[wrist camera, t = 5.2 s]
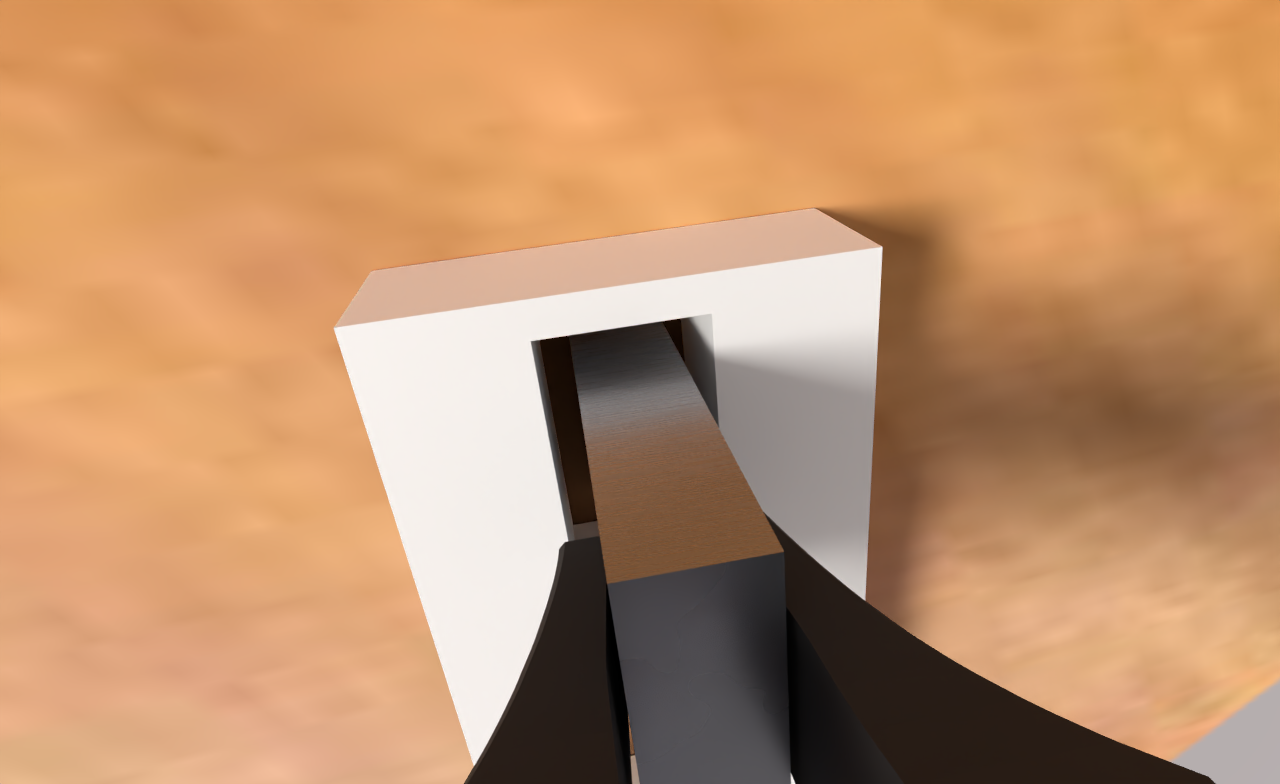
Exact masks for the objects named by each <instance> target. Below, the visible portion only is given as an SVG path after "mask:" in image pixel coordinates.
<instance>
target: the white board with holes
mask: <svg viewBox="0 0 1280 784" xmlns="http://www.w3.org/2000/svg"><path fill="white" fill-rule="evenodd" d="M882 248H883V247H882V246H880V245H879V244H877V243H875V242H873V241H872V240H870V239H868V238H866V237H865V236H863V235H861V234H859V233H857V232H856V231H854V230H852V229H850V228H849V227H847V226H845V225H843V224H842V223H840V222H838V221H836V220H835V219H833V218H831V217H829V216H828V215H826V214H824V213H822V212H821V211H819V210H817V209H815V208H811V209H804V210H797V211H790V212H783V213H776V214H769V215H762V216H755V217H747V218H740V219H733V220H726V221H719V222H712V223H705V224H698V225H691V226H684V227H677V228H670V229H663V230H656V231H649V232H642V233H635V234H628V235H621V236H614V237H606V238H599V239H592V240H585V241H578V242H571V243H564V244H557V245H550V246H543V247H536V248H529V249H522V250H515V251H508V252H501V253H494V254H487V255H480V256H473V257H465V258H458V259H451V260H444V261H437V262H430V263H423V264H416V265H409V266H402V267H395V268H388V269H381V270H374V271H371V272H370V274H369V275H368V277H367V278H366V280H365V281H364V283H363V284H362V286H361V287H360V289H359V290H358V292H357V293H356V295H355V297H354V298H353V300H352V301H351V303H350V304H349V306H348V307H347V309H346V310H345V312H344V313H343V315H342V316H341V318H340V319H339V321H338V322H337V324H336V325H335V327H334V330H335V333H336V337H337V340H338V343H339V346H340V349H341V352H342V355H343V358H344V362H345V365H346V368H347V371H348V374H349V377H350V380H351V383H352V387H353V390H354V393H355V396H356V399H357V402H358V405H359V408H360V412H361V415H362V418H363V421H364V424H365V427H366V430H367V433H368V437H369V440H370V443H371V446H372V449H373V452H374V455H375V458H376V462H377V465H378V468H379V471H380V474H381V477H382V480H383V483H384V487H385V490H386V493H387V496H388V499H389V502H390V505H391V508H392V512H393V515H394V518H395V521H396V524H397V527H398V530H399V533H400V537H401V540H402V543H403V546H404V549H405V552H406V555H407V558H408V561H409V565H410V568H411V571H412V574H413V577H414V580H415V583H416V586H417V590H418V593H419V596H420V599H421V602H422V605H423V608H424V611H425V615H426V618H427V621H428V624H429V627H430V630H431V633H432V636H433V640H434V643H435V646H436V649H437V652H438V655H439V658H440V661H441V665H442V668H443V671H444V674H445V677H446V680H447V683H448V686H449V690H450V693H451V696H452V699H453V702H454V705H455V708H456V711H457V715H458V718H459V721H460V724H461V727H462V730H463V733H464V736H465V740H466V743H467V746H468V749H469V752H470V755H471V758H472V761H473V764H474V766H475V764H476V762H477V760H478V759H479V757H480V755H481V754H482V752H483V750H484V748H485V747H486V745H487V743H488V741H489V739H490V737H491V735H492V733H493V731H494V730H495V728H496V726H497V724H498V722H499V720H500V718H501V716H502V714H503V712H504V710H505V708H506V706H507V704H508V702H509V699H510V697H511V695H512V693H513V691H514V689H515V686H516V684H517V682H518V679H519V677H520V675H521V672H522V670H523V667H524V665H525V663H526V660H527V658H528V655H529V653H530V651H531V648H532V646H533V643H534V640H535V638H536V635H537V632H538V629H539V626H540V623H541V620H542V617H543V614H544V611H545V608H546V605H547V602H548V599H549V595H550V591H551V588H552V584H553V580H554V576H555V572H556V567H557V561H558V554H559V548H560V547H561V546H562V545H563V544H564V542H568V541H573V540H579V539H585V538H590V537H596V536H600V534H599V528H598V521H594V522H588V523H582V524H576V525H573V522H572V516H571V511H570V505H569V500H568V494H567V489H566V483H565V478H564V472H563V467H562V461H561V456H560V450H559V445H558V440H557V434H556V429H555V423H554V418H553V412H552V407H551V401H550V396H549V390H548V385H547V379H546V374H545V368H544V363H543V357H542V352H541V346H540V341H539V340H542V339H549V338H555V337H562V336H568V335H575V334H581V333H588V332H594V331H601V330H607V329H614V328H621V327H627V326H634V325H640V324H647V323H653V322H660V321H666V320H673V319H680V318H681V325H682V337H683V349H684V360H685V365H686V367H687V369H688V371H689V373H690V375H691V377H692V379H693V381H694V382H695V384H696V386H697V388H698V390H699V392H700V394H701V396H702V397H703V399H704V401H705V403H706V405H707V407H708V409H709V411H710V413H711V414H712V416H713V418H714V420H715V422H716V424H717V426H718V428H719V430H720V431H721V433H722V435H723V437H724V439H725V441H726V443H727V445H728V447H729V448H730V450H731V452H732V454H733V456H734V458H735V460H736V462H737V463H738V465H739V467H740V469H741V471H742V473H743V475H744V477H745V479H746V480H747V482H748V484H749V486H750V488H751V490H752V492H753V494H754V496H755V497H756V499H757V501H758V503H759V505H760V507H761V509H762V511H763V512H764V513H765V514H766V515H767V516H768V517H770V518H771V519H772V520H773V521H774V522H775V523H776V524H777V525H778V526H779V527H780V528H781V529H782V530H783V531H784V532H785V533H786V534H787V535H788V536H789V537H791V538H792V539H793V540H794V541H795V542H796V543H797V544H798V545H799V546H800V547H801V548H803V549H804V550H805V551H806V552H807V553H808V554H809V555H810V556H811V557H813V558H814V559H815V560H816V561H817V562H818V563H819V564H821V565H822V566H823V567H824V568H825V569H827V570H828V571H829V572H830V573H831V574H833V575H834V576H835V577H836V578H837V579H839V580H840V581H841V582H842V583H843V584H845V585H846V586H847V587H848V588H849V589H851V590H852V591H853V592H855V593H856V594H857V595H858V596H860V597H861V598H862V599H863V600H865V594H866V574H867V554H868V533H869V513H870V493H871V472H872V452H873V432H874V411H875V391H876V371H877V350H878V330H879V310H880V289H881V269H882ZM631 772H632V784H640V782H639V776H638V770H637V764H636V757H635V755H633V756H631ZM791 784H795V782H794V779H793V777H792V775H791Z"/></svg>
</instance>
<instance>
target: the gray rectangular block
mask: <svg viewBox="0 0 1280 784" xmlns="http://www.w3.org/2000/svg"><path fill="white" fill-rule="evenodd" d="M569 340H570V346H571V353H572V359H573V366H574V372H575V379H576V385H577V392H578V398H579V405H580V411H581V418H582V424H583V430H584V437H585V443H586V450H587V456H588V463H589V469H590V476H591V482H592V489H593V495H594V502H595V508H596V515H597V521H598V528H599V534H600V541H601V547H602V554H603V560H604V567H605V573H606V580H607V586H608V592H609V598H610V604H611V610H612V617H613V623H614V629H615V635H616V641H617V647H618V653H619V659H620V666H621V672H622V678H623V684H624V690H625V696H626V702H627V708H628V715H629V721H630V727H631V733H632V739H633V745H634V751H635V757H636V764H637V770H638V776H639V782H640V784H791V766H790V732H789V697H788V663H787V629H786V594H785V560H784V550H783V548H782V546H781V545H780V543H779V541H778V539H777V537H776V535H775V533H774V531H773V529H772V528H771V526H770V524H769V522H768V520H767V518H766V516H765V514H764V513H763V511H762V509H761V507H760V505H759V503H758V501H757V499H756V497H755V496H754V494H753V492H752V490H751V488H750V486H749V484H748V482H747V480H746V479H745V477H744V475H743V473H742V471H741V469H740V467H739V465H738V463H737V462H736V460H735V458H734V456H733V454H732V452H731V450H730V448H729V447H728V445H727V443H726V441H725V439H724V437H723V435H722V433H721V431H720V430H719V428H718V426H717V424H716V422H715V420H714V418H713V416H712V414H711V413H710V411H709V409H708V407H707V405H706V403H705V401H704V399H703V397H702V396H701V394H700V392H699V390H698V388H697V386H696V384H695V382H694V381H693V379H692V377H691V375H690V373H689V371H688V369H687V367H686V365H685V364H684V362H683V360H682V358H681V356H680V354H679V352H678V350H677V348H676V347H675V345H674V343H673V341H672V339H671V337H670V335H669V333H668V331H667V330H666V328H665V326H664V324H663V322H662V321H660V322H653V323H647V324H640V325H634V326H627V327H621V328H614V329H607V330H601V331H594V332H588V333H581V334H575V335H569Z"/></svg>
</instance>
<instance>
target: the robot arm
mask: <svg viewBox="0 0 1280 784" xmlns="http://www.w3.org/2000/svg"><path fill="white" fill-rule="evenodd" d="M763 513H764V512H763ZM764 514H765V513H764ZM765 516H766V518H767V520H768V522H769V524H770V526H771V528H772V529H773V531H774V533H775V535H776V537H777V539H778V541H779V543H780V545H781V546H782V548H783V550H784V560H785V594H786V629H787V663H788V697H789V732H790V766H791V775H792V777H793V779H794V782H795V784H1215V783H1214V782H1213V781H1212V780H1211V779H1210V778H1209V777H1207V776H1205V775H1202V774H1200V773H1197V772H1195V771H1192V770H1189V769H1187V768H1184V767H1182V766H1179V765H1176V764H1174V763H1171V762H1169V761H1166V760H1163V759H1161V758H1158V757H1156V756H1153V755H1150V754H1148V753H1145V752H1143V751H1140V750H1138V749H1135V748H1132V747H1130V746H1127V745H1125V744H1122V743H1119V742H1117V741H1114V740H1112V739H1110V738H1107V737H1105V736H1103V735H1100V734H1098V733H1096V732H1094V731H1091V730H1089V729H1087V728H1085V727H1083V726H1080V725H1078V724H1076V723H1074V722H1071V721H1069V720H1067V719H1065V718H1063V717H1060V716H1058V715H1056V714H1054V713H1052V712H1050V711H1047V710H1045V709H1043V708H1041V707H1039V706H1037V705H1035V704H1033V703H1031V702H1029V701H1027V700H1025V699H1023V698H1021V697H1019V696H1017V695H1015V694H1013V693H1011V692H1010V691H1008V690H1006V689H1004V688H1002V687H1000V686H998V685H996V684H995V683H993V682H991V681H989V680H987V679H985V678H983V677H981V676H979V675H978V674H976V673H974V672H972V671H970V670H969V669H967V668H965V667H963V666H962V665H960V664H958V663H956V662H955V661H953V660H951V659H950V658H948V657H946V656H945V655H943V654H942V653H940V652H938V651H937V650H935V649H934V648H932V647H931V646H929V645H927V644H926V643H924V642H923V641H921V640H919V639H918V638H916V637H915V636H913V635H912V634H910V633H909V632H907V631H906V630H904V629H903V628H902V627H900V626H899V625H897V624H896V623H894V622H893V621H892V620H890V619H889V618H888V617H886V616H885V615H884V614H882V613H881V612H879V611H878V610H877V609H875V608H874V607H873V606H871V605H870V604H869V603H867V602H866V601H865V600H863V599H862V598H861V597H860V596H858V595H857V594H856V593H855V592H853V591H852V590H851V589H849V588H848V587H847V586H846V585H845V584H843V583H842V582H841V581H840V580H839V579H837V578H836V577H835V576H834V575H833V574H831V573H830V572H829V571H828V570H827V569H825V568H824V567H823V566H822V565H821V564H819V563H818V562H817V561H816V560H815V559H814V558H813V557H811V556H810V555H809V554H808V553H807V552H806V551H805V550H804V549H803V548H801V547H800V546H799V545H798V544H797V543H796V542H795V541H794V540H793V539H792V538H791V537H789V536H788V535H787V534H786V533H785V532H784V531H783V530H782V529H781V528H780V527H779V526H778V525H777V524H776V523H775V522H774V521H773V520H772V519H771V518H770V517H768V516H767V515H766V514H765ZM464 784H632V772H631V755H630V739H629V723H628V708H627V702H626V696H625V690H624V684H623V678H622V672H621V666H620V659H619V653H618V647H617V641H616V635H615V629H614V623H613V617H612V610H611V604H610V598H609V592H608V586H607V580H606V573H605V567H604V560H603V554H602V547H601V541H600V536H596V537H590V538H585V539H579V540H573V541H568V542H564V544H563V545H562V546H561V547H560V548H559V554H558V561H557V567H556V572H555V576H554V580H553V584H552V588H551V591H550V595H549V599H548V602H547V605H546V608H545V611H544V614H543V617H542V620H541V623H540V626H539V629H538V632H537V635H536V638H535V640H534V643H533V646H532V648H531V651H530V653H529V655H528V658H527V660H526V663H525V665H524V667H523V670H522V672H521V675H520V677H519V679H518V682H517V684H516V686H515V689H514V691H513V693H512V695H511V697H510V699H509V702H508V704H507V706H506V708H505V710H504V712H503V714H502V716H501V718H500V720H499V722H498V724H497V726H496V728H495V730H494V731H493V733H492V735H491V737H490V739H489V741H488V743H487V745H486V747H485V748H484V750H483V752H482V754H481V755H480V757H479V759H478V760H477V762H476V764H475V766H474V767H473V769H472V771H471V772H470V774H469V776H468V778H467V779H466V781H465V783H464Z"/></svg>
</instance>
